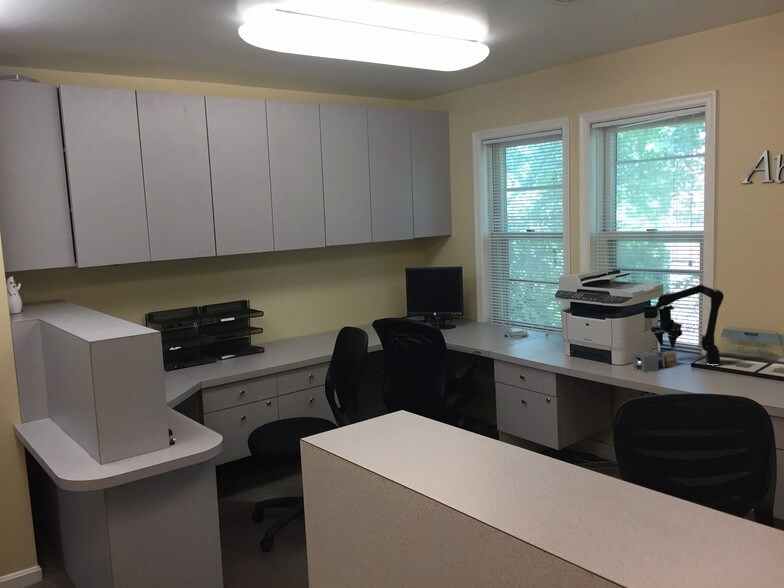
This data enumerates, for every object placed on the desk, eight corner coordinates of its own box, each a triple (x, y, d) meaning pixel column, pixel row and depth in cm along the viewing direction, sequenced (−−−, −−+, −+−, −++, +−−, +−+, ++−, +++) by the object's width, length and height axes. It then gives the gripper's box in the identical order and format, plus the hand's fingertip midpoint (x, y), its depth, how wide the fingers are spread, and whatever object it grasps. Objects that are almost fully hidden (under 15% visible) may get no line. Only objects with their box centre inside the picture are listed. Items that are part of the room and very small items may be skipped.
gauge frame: (675, 367, 339) (673, 351, 338) (645, 372, 335) (643, 357, 334) (658, 362, 352) (657, 348, 351) (629, 367, 348) (628, 353, 347)
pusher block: (676, 365, 342) (676, 352, 341) (667, 367, 341) (666, 354, 340) (670, 363, 347) (669, 351, 346) (661, 365, 346) (660, 352, 345)
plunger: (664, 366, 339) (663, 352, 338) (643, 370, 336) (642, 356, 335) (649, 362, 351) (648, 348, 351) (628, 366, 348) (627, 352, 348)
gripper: (690, 317, 334) (692, 347, 336) (667, 314, 352) (668, 342, 354) (671, 320, 332) (673, 350, 333) (649, 316, 350) (651, 345, 351)
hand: (667, 346), depth 343 cm, fingers open, 9 cm apart
